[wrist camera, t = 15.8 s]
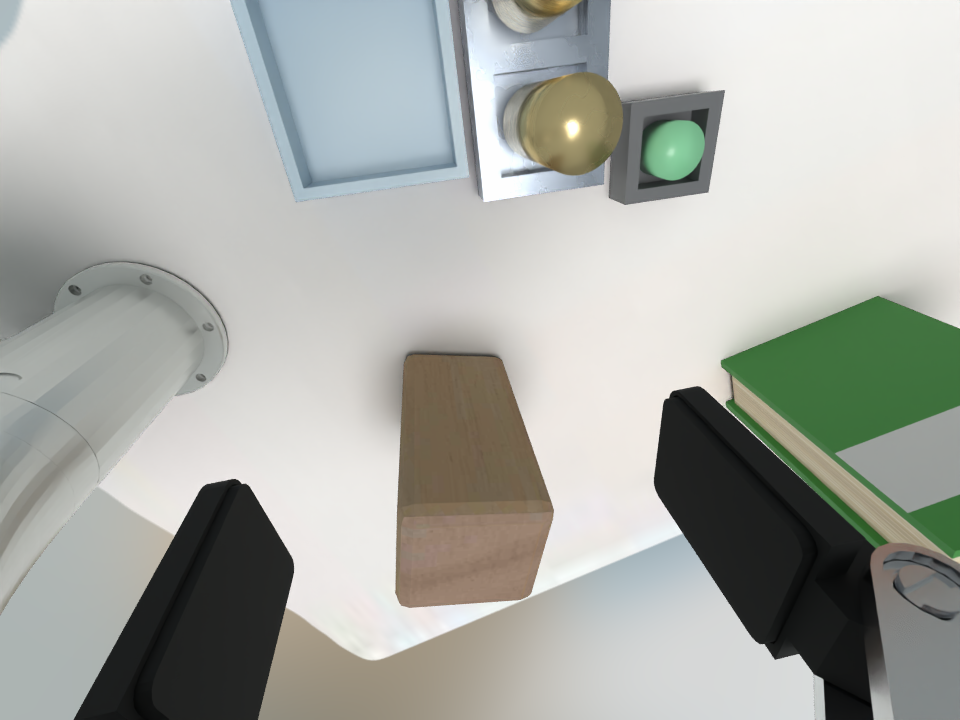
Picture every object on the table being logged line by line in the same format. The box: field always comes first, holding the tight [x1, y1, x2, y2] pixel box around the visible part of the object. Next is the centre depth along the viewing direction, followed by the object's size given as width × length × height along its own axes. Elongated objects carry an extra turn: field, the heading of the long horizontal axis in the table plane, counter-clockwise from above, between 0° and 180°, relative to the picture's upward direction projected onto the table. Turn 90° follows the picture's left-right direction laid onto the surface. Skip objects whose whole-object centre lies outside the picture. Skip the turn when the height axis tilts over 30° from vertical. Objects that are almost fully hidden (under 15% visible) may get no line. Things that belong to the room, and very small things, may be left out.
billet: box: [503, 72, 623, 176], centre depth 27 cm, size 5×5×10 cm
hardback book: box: [721, 296, 960, 564], centre depth 38 cm, size 18×7×24 cm, turn 113°
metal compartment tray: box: [458, 0, 611, 202], centre depth 29 cm, size 18×10×3 cm, turn 7°
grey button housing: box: [609, 90, 725, 205], centre depth 33 cm, size 7×7×3 cm
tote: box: [230, 0, 469, 202], centre depth 29 cm, size 13×13×4 cm
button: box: [640, 120, 705, 180], centre depth 32 cm, size 4×4×3 cm
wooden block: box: [395, 354, 554, 608], centre depth 36 cm, size 10×10×20 cm
